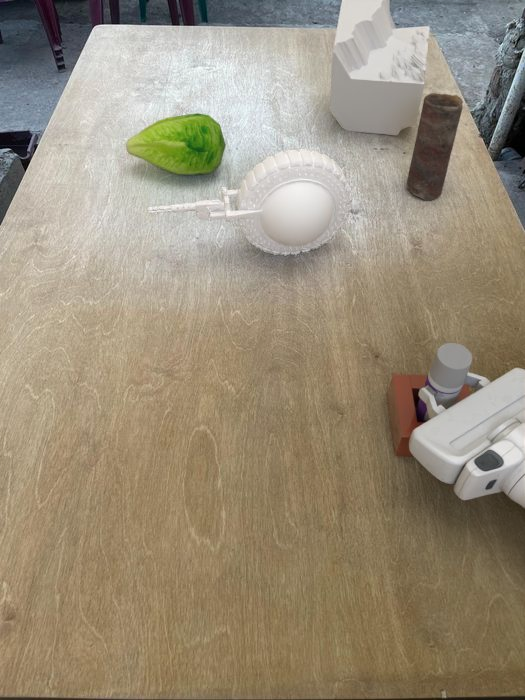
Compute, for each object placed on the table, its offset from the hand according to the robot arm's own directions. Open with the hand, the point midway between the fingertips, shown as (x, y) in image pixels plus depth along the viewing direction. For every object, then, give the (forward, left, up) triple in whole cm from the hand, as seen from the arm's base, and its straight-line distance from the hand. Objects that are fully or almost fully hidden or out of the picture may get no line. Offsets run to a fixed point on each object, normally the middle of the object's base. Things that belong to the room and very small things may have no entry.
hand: (439, 380), depth 85 cm
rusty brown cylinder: (-8, -57, -10) cm, 59 cm away
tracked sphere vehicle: (+27, -36, -10) cm, 46 cm away
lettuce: (+43, -62, -10) cm, 76 cm away
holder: (0, +1, -10) cm, 10 cm away
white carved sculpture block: (0, -82, -10) cm, 83 cm away
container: (-1, +1, -9) cm, 9 cm away
